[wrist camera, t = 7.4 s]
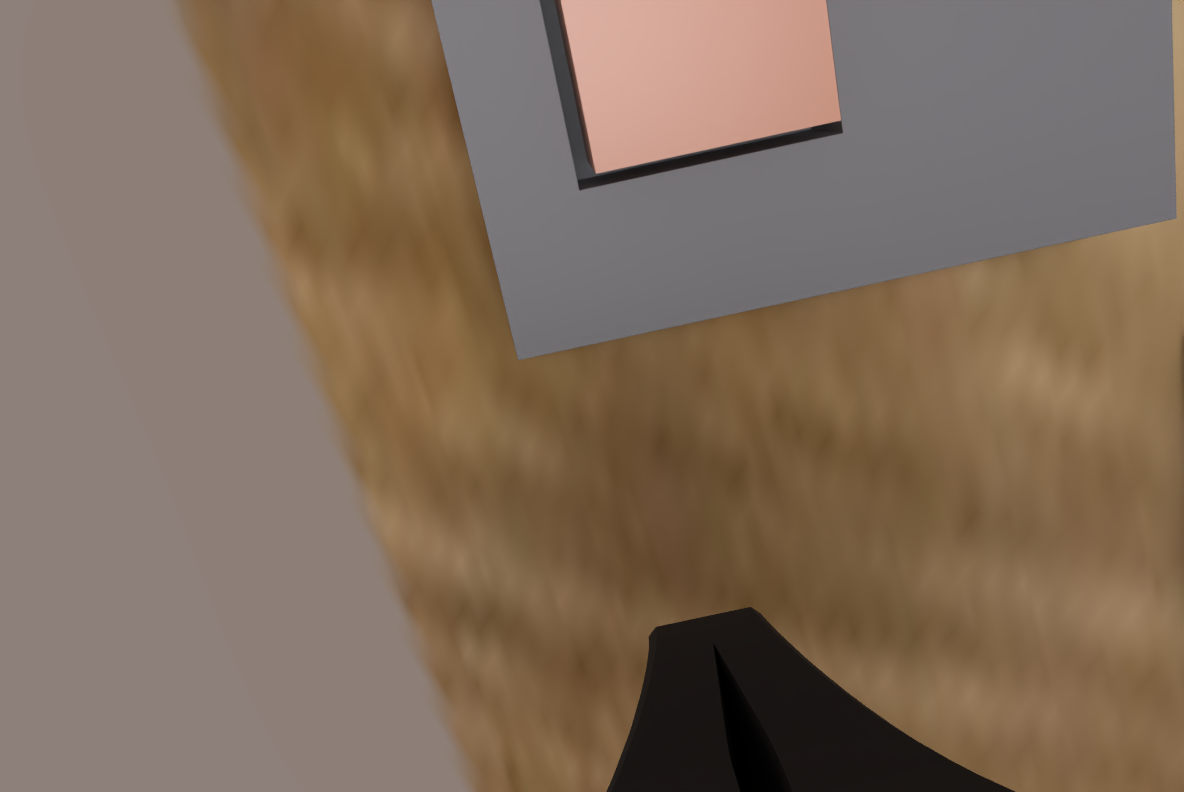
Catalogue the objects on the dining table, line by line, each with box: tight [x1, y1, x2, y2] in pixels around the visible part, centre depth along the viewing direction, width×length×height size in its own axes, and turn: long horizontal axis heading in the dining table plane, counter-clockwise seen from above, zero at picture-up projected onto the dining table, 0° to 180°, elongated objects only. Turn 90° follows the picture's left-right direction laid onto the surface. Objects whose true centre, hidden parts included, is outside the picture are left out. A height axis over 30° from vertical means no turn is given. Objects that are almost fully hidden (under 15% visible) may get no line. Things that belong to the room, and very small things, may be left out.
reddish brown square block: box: [555, 0, 841, 174], centre depth 16 cm, size 4×4×3 cm
